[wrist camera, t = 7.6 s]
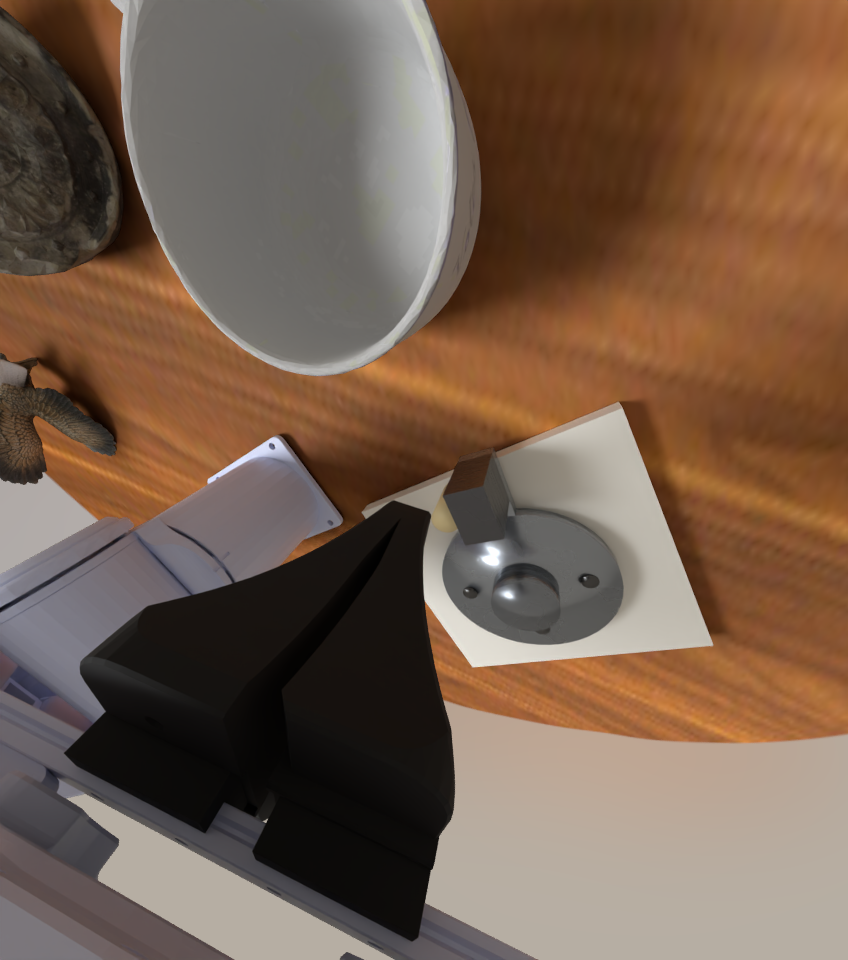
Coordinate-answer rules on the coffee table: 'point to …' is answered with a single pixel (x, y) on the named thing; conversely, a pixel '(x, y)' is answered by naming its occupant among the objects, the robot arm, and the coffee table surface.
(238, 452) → the coffee table surface
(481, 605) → the flange plate
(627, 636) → the base plate
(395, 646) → the robot arm
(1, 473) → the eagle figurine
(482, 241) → the coffee table surface
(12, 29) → the fossil
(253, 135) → the teacup
